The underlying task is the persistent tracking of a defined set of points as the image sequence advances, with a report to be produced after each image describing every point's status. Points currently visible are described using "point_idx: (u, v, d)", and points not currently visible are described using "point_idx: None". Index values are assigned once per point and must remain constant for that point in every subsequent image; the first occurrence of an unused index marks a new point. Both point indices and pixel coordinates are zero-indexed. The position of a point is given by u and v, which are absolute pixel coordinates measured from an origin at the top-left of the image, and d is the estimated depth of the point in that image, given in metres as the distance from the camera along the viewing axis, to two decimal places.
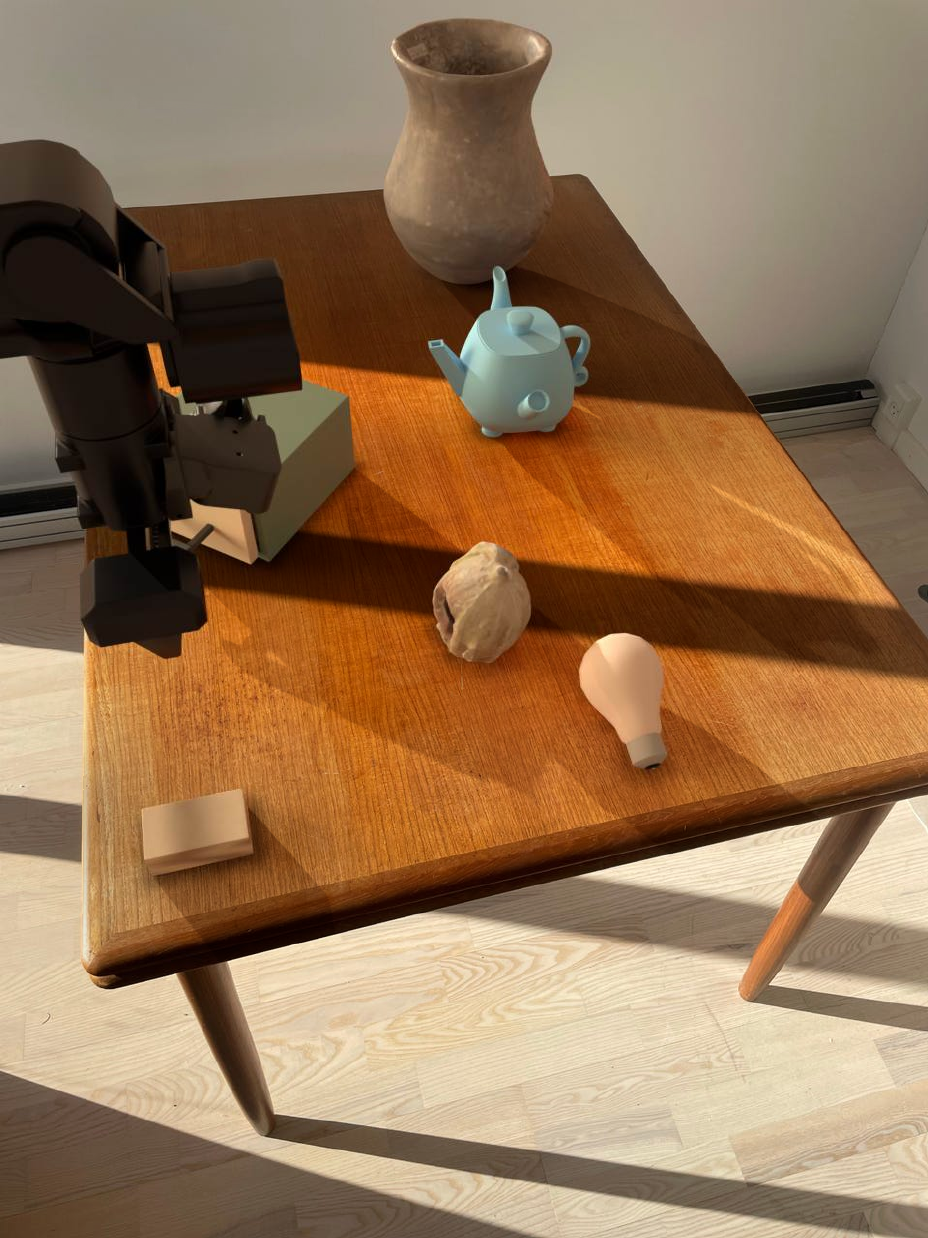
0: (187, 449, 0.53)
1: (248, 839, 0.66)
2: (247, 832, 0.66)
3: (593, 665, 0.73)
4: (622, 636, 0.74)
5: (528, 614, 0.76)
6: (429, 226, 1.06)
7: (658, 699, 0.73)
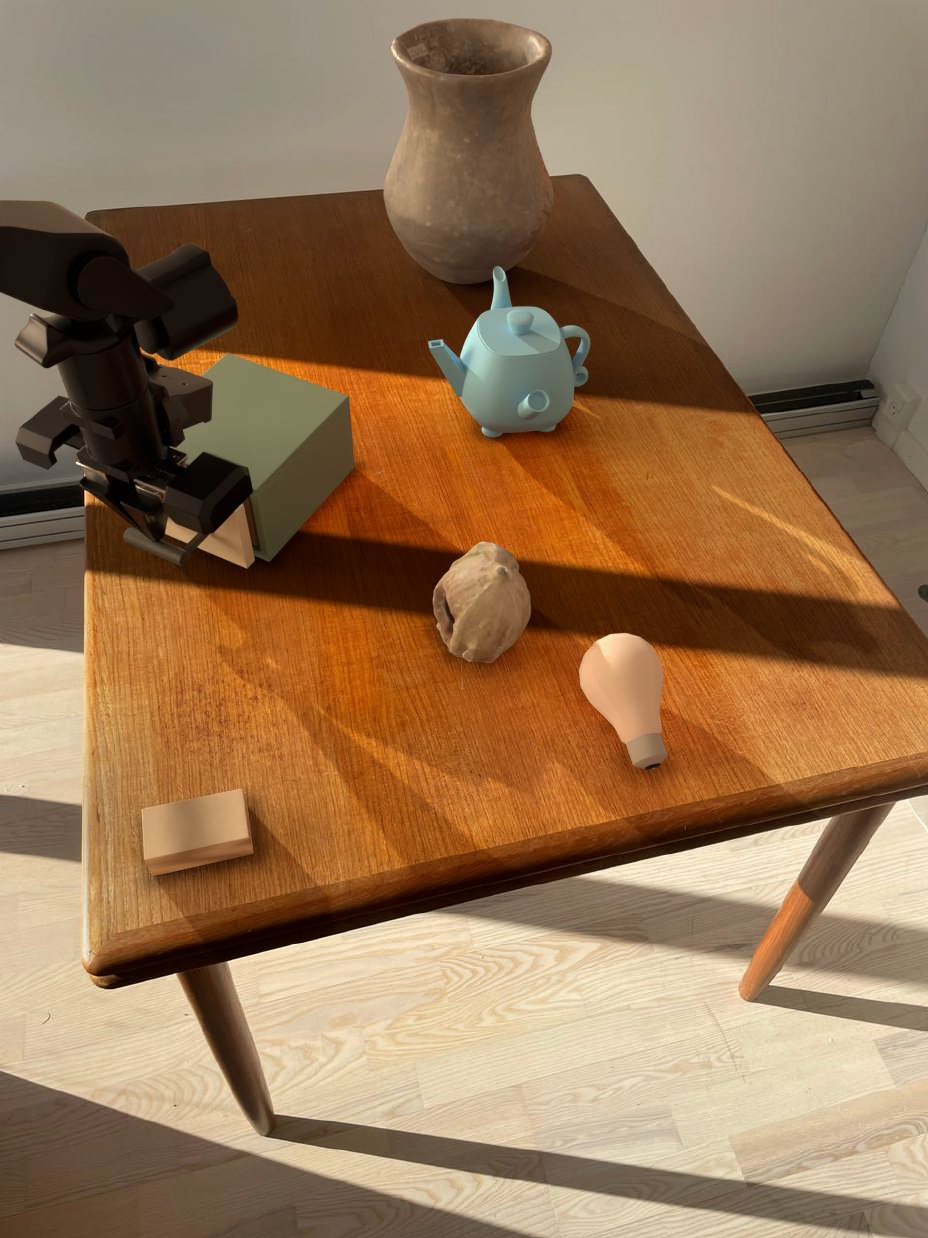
0: None
1: (248, 839, 0.66)
2: (247, 832, 0.66)
3: (593, 665, 0.73)
4: (622, 636, 0.74)
5: (528, 614, 0.76)
6: (429, 226, 1.06)
7: (658, 699, 0.73)
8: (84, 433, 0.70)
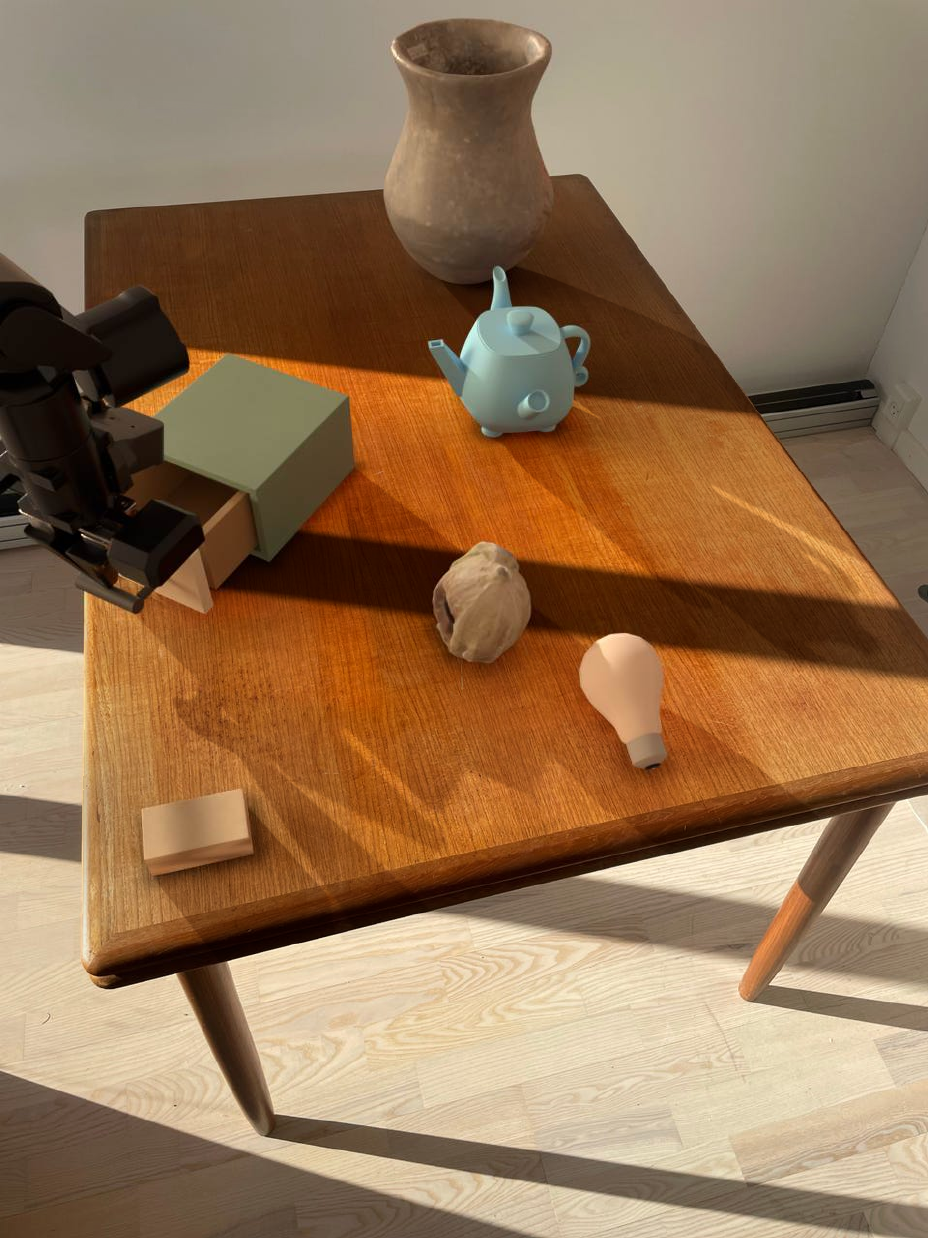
0: None
1: (248, 839, 0.66)
2: (247, 832, 0.66)
3: (593, 665, 0.73)
4: (622, 636, 0.74)
5: (528, 614, 0.76)
6: (429, 226, 1.06)
7: (658, 699, 0.73)
8: (23, 483, 0.67)
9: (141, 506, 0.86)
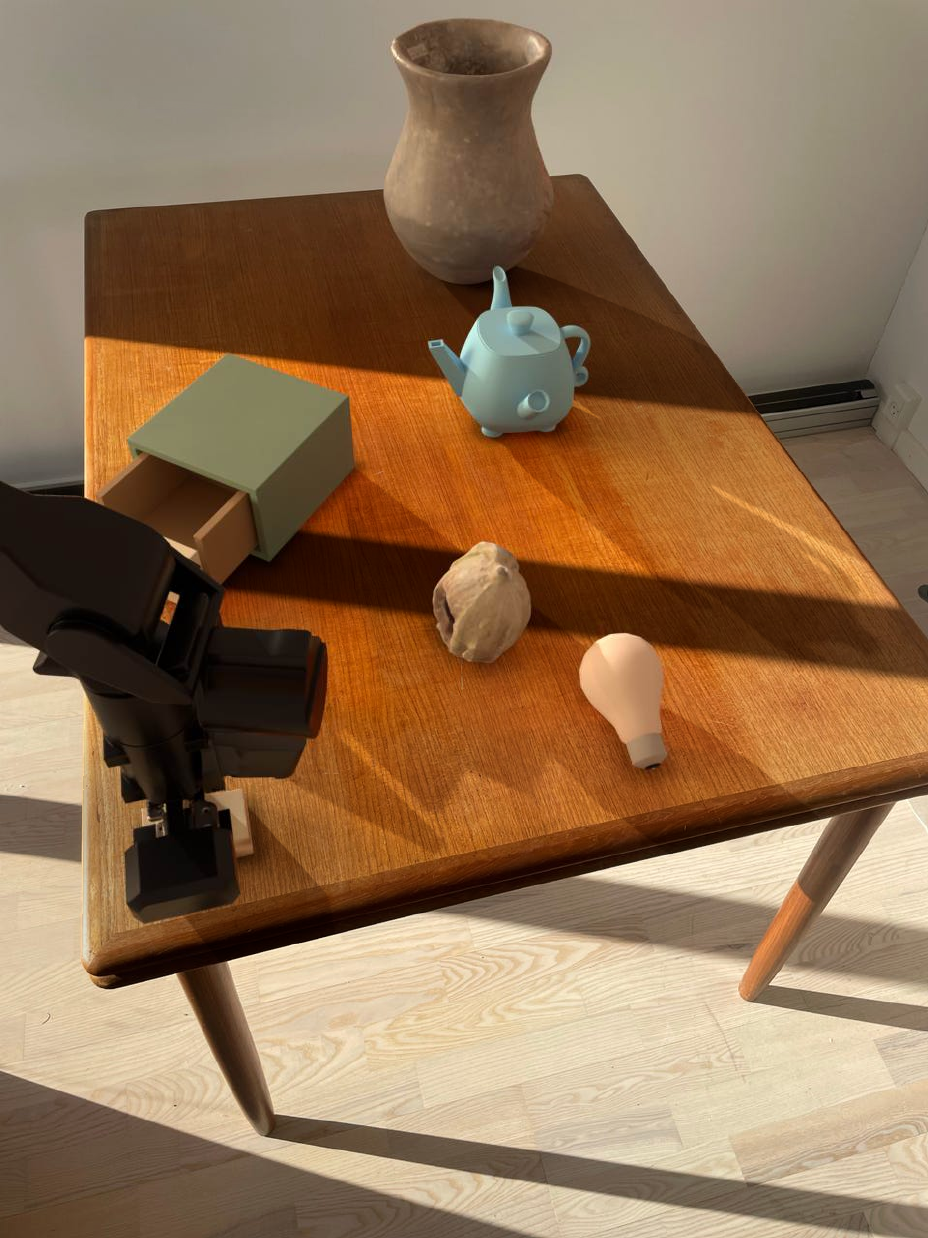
0: (221, 734, 0.58)
1: (248, 839, 0.66)
2: (247, 832, 0.66)
3: (593, 665, 0.73)
4: (623, 636, 0.74)
5: (528, 614, 0.76)
6: (429, 226, 1.06)
7: (658, 699, 0.73)
8: None
9: (140, 507, 0.85)
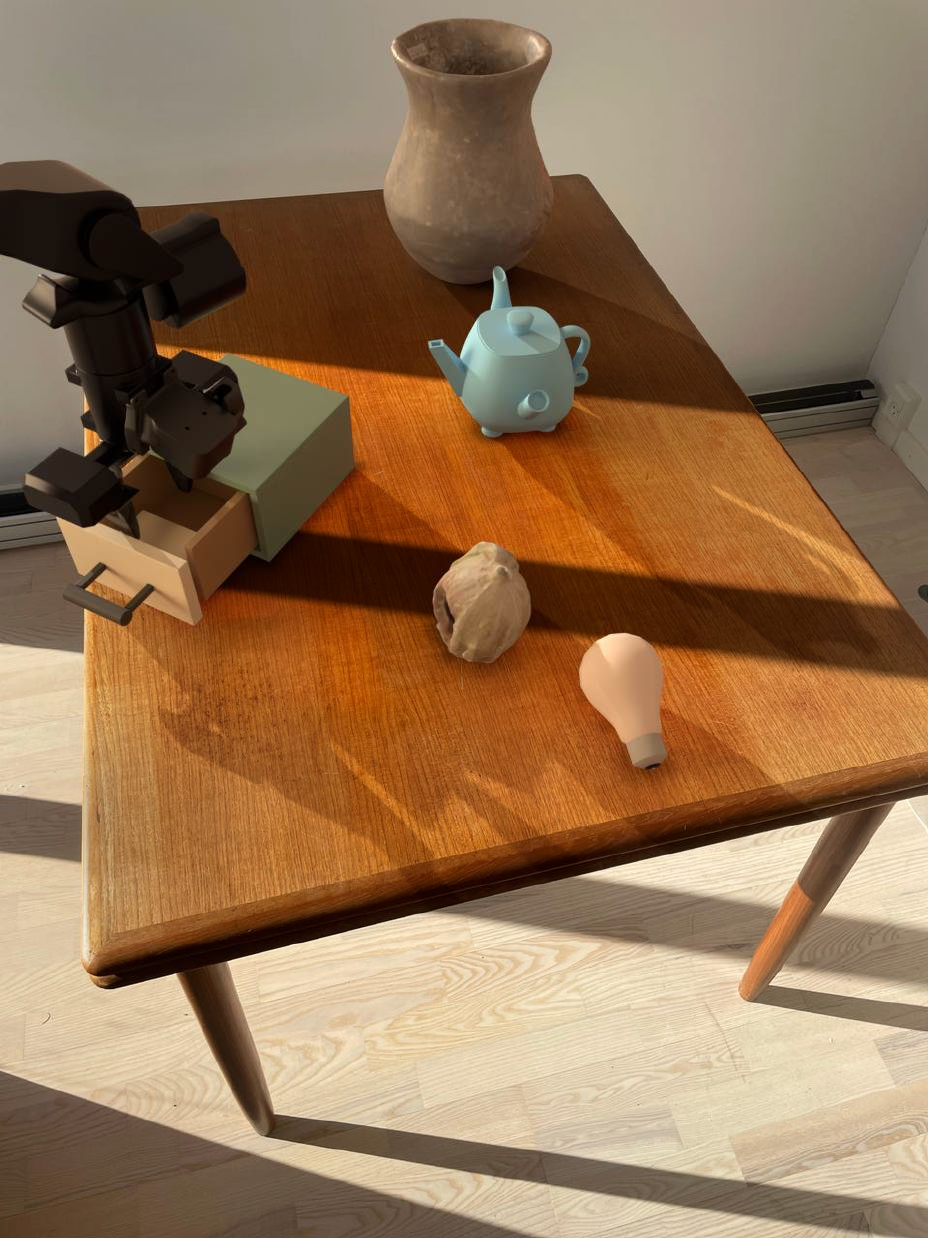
0: (153, 407, 0.69)
1: None
2: None
3: (593, 665, 0.73)
4: (622, 636, 0.74)
5: (528, 614, 0.76)
6: (429, 226, 1.06)
7: (658, 699, 0.73)
8: None
9: None
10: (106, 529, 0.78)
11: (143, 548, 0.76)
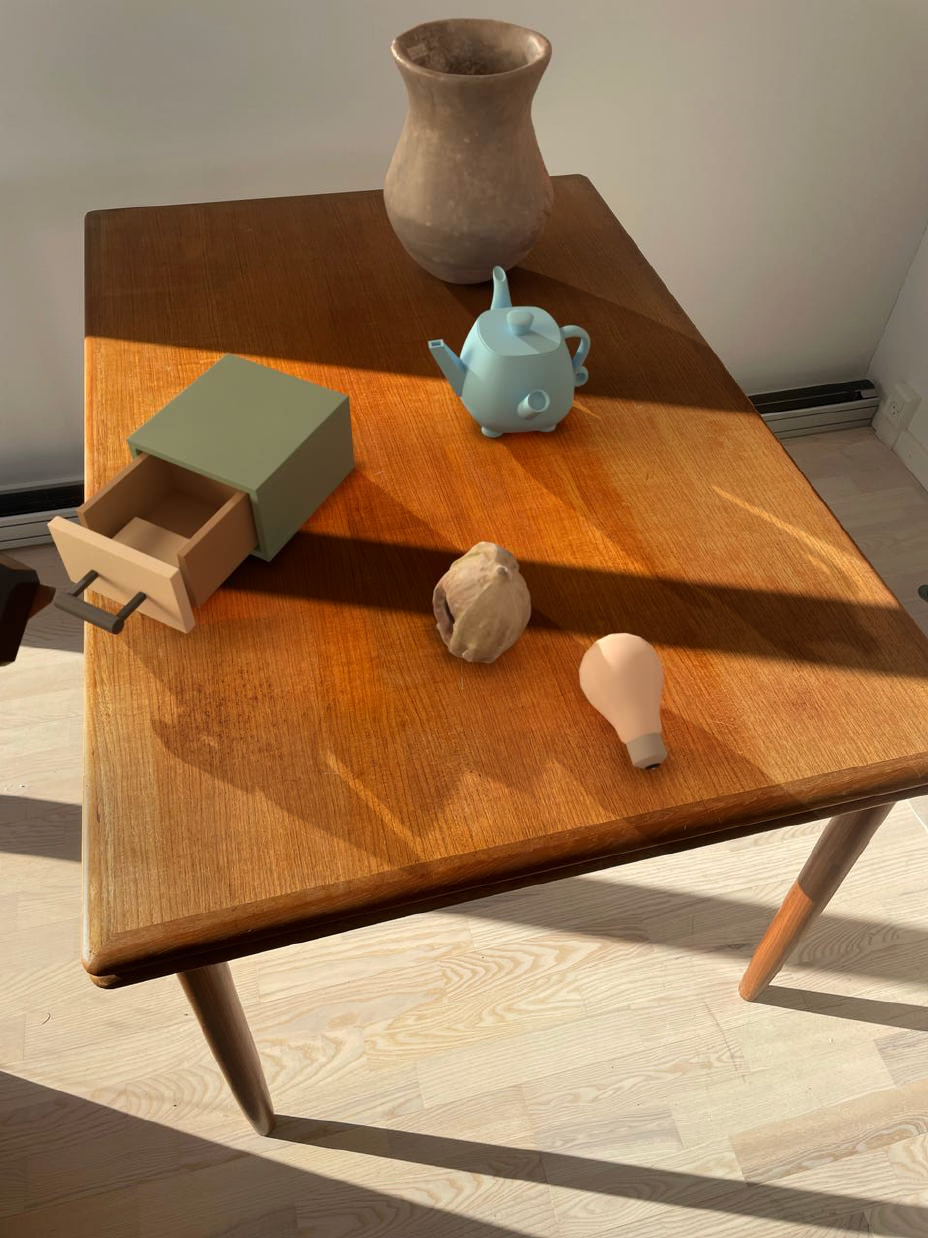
0: None
1: None
2: None
3: (593, 665, 0.73)
4: (622, 636, 0.74)
5: (528, 614, 0.76)
6: (429, 226, 1.06)
7: (658, 699, 0.73)
8: None
9: (123, 523, 0.84)
10: (98, 537, 0.77)
11: (135, 556, 0.76)
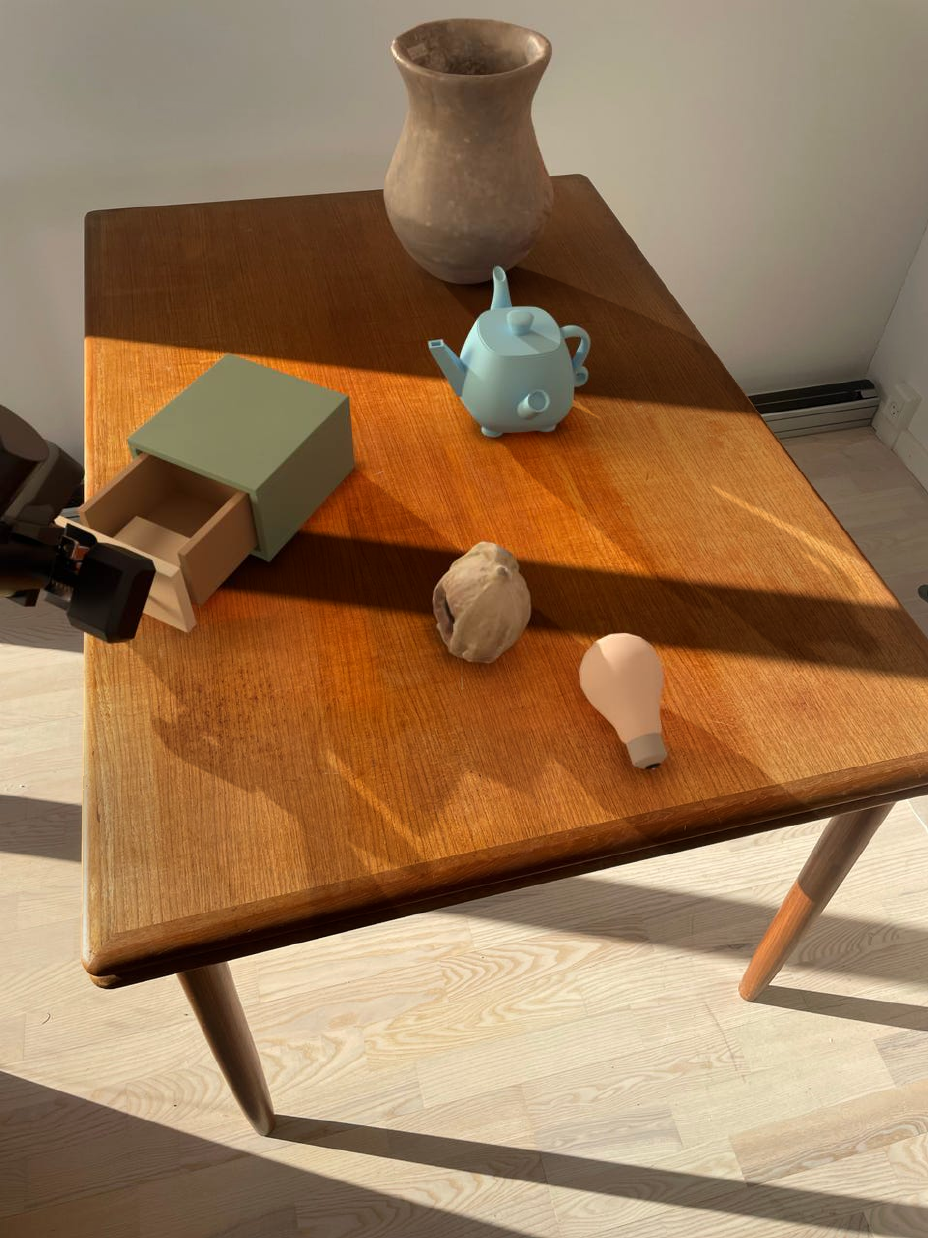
0: (10, 508, 0.64)
1: None
2: None
3: (593, 665, 0.73)
4: (623, 636, 0.74)
5: (528, 614, 0.76)
6: (429, 226, 1.06)
7: (658, 699, 0.73)
8: None
9: (124, 522, 0.84)
10: (99, 536, 0.77)
11: None
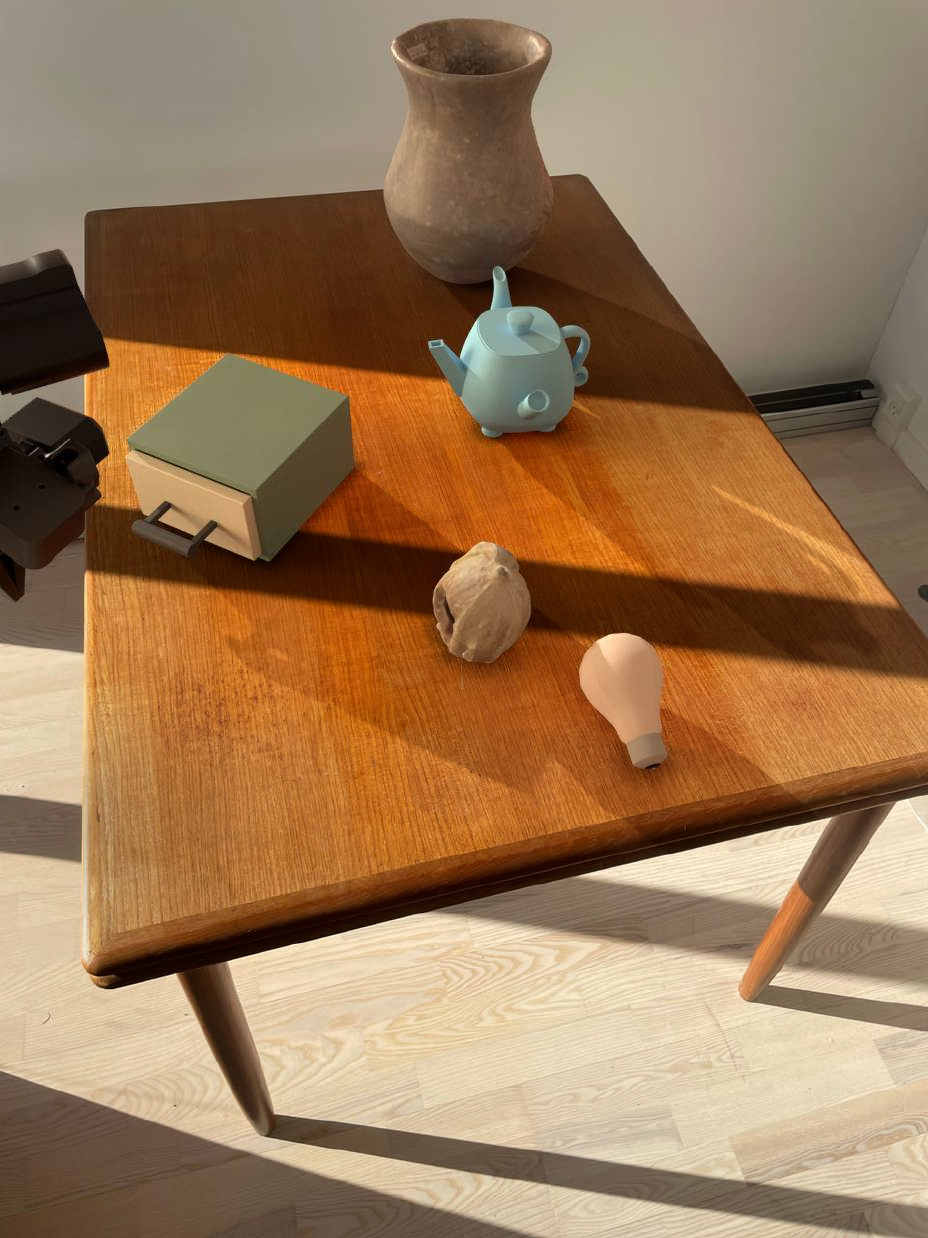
0: None
1: None
2: None
3: (593, 665, 0.73)
4: (622, 636, 0.74)
5: (528, 614, 0.76)
6: (429, 226, 1.06)
7: (658, 699, 0.73)
8: None
9: None
10: (173, 468, 0.83)
11: (209, 485, 0.81)
